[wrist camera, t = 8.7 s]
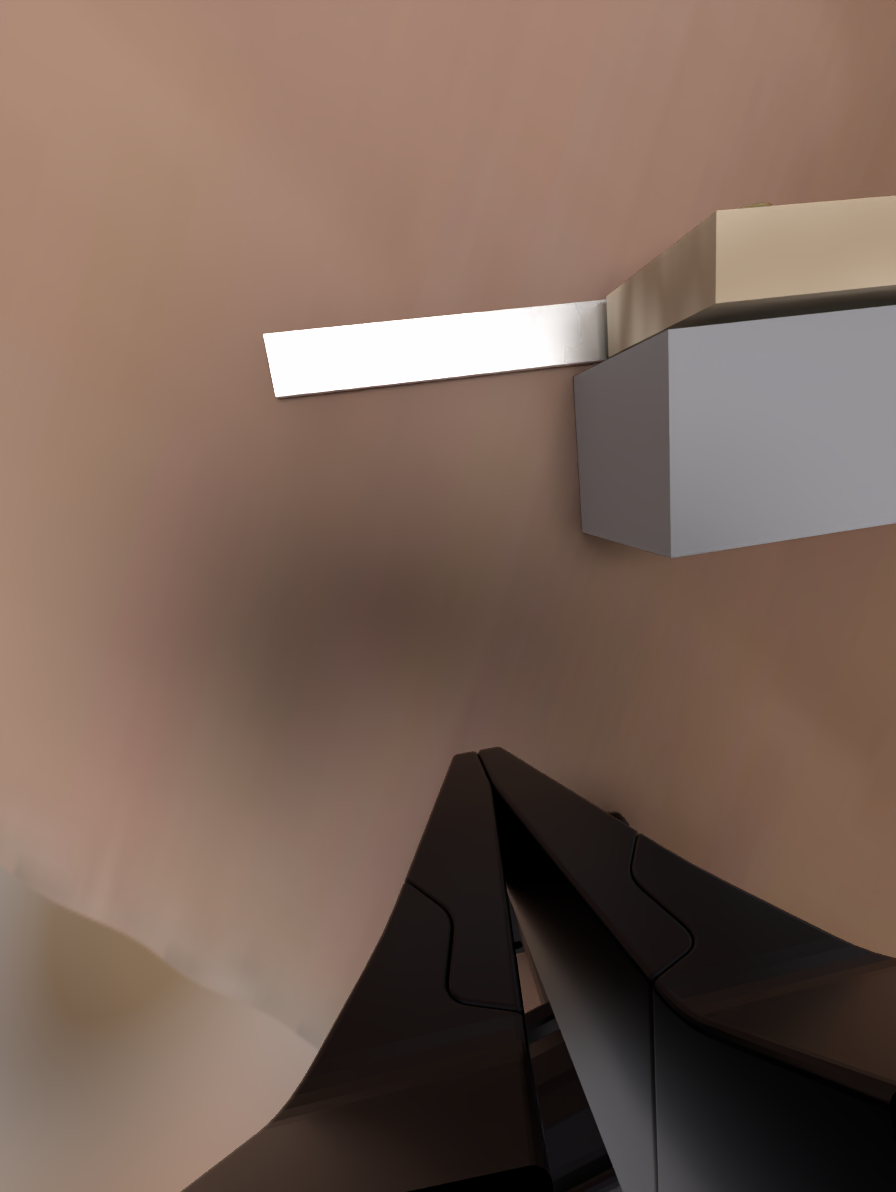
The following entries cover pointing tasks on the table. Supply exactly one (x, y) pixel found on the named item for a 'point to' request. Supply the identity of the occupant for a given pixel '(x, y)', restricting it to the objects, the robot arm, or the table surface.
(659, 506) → the cabinet
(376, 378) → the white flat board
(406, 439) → the table surface
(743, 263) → the door
